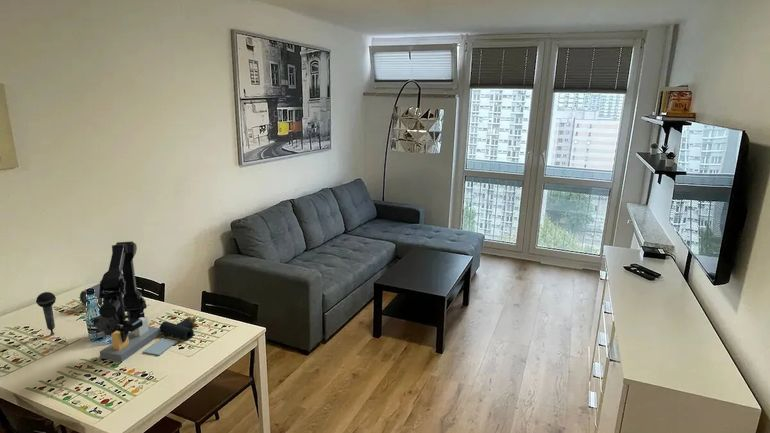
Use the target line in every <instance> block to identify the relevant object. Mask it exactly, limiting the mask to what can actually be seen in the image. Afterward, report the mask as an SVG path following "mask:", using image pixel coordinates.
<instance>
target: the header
mask: <svg viewBox="0 0 770 433" xmlns="http://www.w3.org/2000/svg"><path fill="white" fill-rule="evenodd" d="M148 329H149V331H148V332H146V333H145V334H143V335H142V336H140V337H139V336H134V331H132V332H129V333H128V339H129V344H128V345H127V346H125V347H124V348H122V349H121V350H114V349H113V344H112V343H110V344H109V345H108V346H106V347H105V348H103V349H101V350H100V351H99V355H100V359H103V360H108V361H109V360H110V361H115V362H118V363H119V362H123V361H126V360H127V359H128V358H130V357H131V356H133V354H136V353H137V352H138V351H140V350H142V348H144V347H145V346H147V345H148V344H150V343H151V342H153V341H154V340H155V339H156V338H158V337H159V336H161V335H162V332H161V329H160V327H155V326H154V327H153V326H150V325H148Z"/></svg>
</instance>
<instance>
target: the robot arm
mask: <svg viewBox="0 0 770 433" xmlns="http://www.w3.org/2000/svg"><path fill="white" fill-rule="evenodd" d="M137 247H138V246H137V243H135V242H134V241H120V242H119V241H118V242H116V243H115V244H112V245H111V250H112V251H111V252H112V254H111V257H110V262H109V265H108V266H109V267H108V270H107V271H106V272H104V274H103V275H102V278H101V279H100V282H99V284H100V291H99V298H104V302H103V304H100V305H101V306H100V307H99V309H98V313H99V315H98V316H96V317H95V318H93V321H92V325H93V326H94V327H95V328H96V329H97V331H98V332H102V333H103V332H104V333H110V335H111V334H112V333H113V332H115V331H119V332H120V334H121V339H122V342H125V341H126V338H127V336H128V333H129V332H132V331H134V330H136V329H138V328H139V327H141V326H142V325H143V323H142V320H141V319H139V318H141V317H143V318H147V317H145V311H144V310H145V309H147V307H148V306H147V302H146V299H144V297H143V295H142V292H141V291H140V290H139V289H138V288H137V281H136V274H135V265H134V260H133V259H134V258H135V255H136V254H137V249H138V248H137ZM103 290H104V291H105V292H108V291H110V292H108V293H103Z"/></svg>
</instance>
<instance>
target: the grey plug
mask: <svg viewBox="0 0 770 433" xmlns="http://www.w3.org/2000/svg"><path fill="white" fill-rule="evenodd" d="M139 319H141V320H142V323H143V325H142V326H141V327H139V328H138V329H136V330H134V336H139V337H140V336H142V335H143V334H145V333H146V332H148V331H149V329H148V326H149V322H148V317H146V318H143V317H141V318H139Z"/></svg>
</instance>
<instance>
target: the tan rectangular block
mask: <svg viewBox="0 0 770 433" xmlns="http://www.w3.org/2000/svg"><path fill="white" fill-rule="evenodd" d="M110 338H111V344H113V349H114V350H121V349H122V348H124V347H125V346H127V345H128V344H129V339H128V336H127V338H126V341H125V342H122V339H121V334H120V332H119V331H115V332H113V333H112V334H111V333H110Z"/></svg>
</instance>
